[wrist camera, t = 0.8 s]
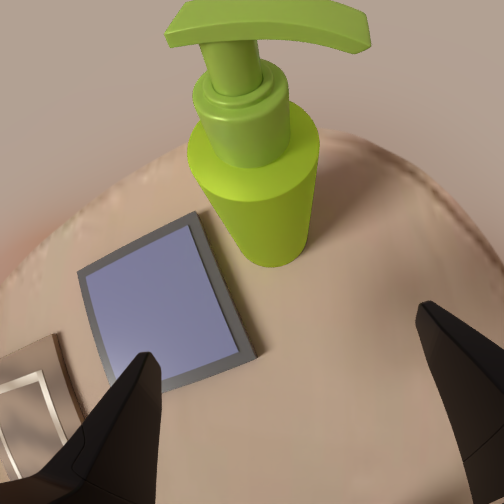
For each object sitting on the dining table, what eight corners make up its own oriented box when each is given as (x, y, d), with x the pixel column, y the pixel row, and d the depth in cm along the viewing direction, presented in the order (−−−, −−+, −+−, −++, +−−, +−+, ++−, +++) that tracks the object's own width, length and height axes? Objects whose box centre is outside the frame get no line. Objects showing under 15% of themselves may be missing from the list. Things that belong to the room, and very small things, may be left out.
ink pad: (257, 357, 23) (256, 359, 22) (123, 404, 23) (117, 406, 22) (198, 214, 27) (194, 210, 25) (82, 273, 27) (75, 271, 26)
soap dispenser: (315, 274, 24) (383, 85, 5) (230, 261, 25) (82, 87, 6) (323, 206, 25) (361, -24, 6) (243, 196, 26) (162, -19, 7)
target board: (132, 511, 20) (128, 515, 19) (28, 505, 20) (24, 507, 19) (56, 334, 26) (50, 334, 25) (-25, 372, 26) (-29, 372, 25)
